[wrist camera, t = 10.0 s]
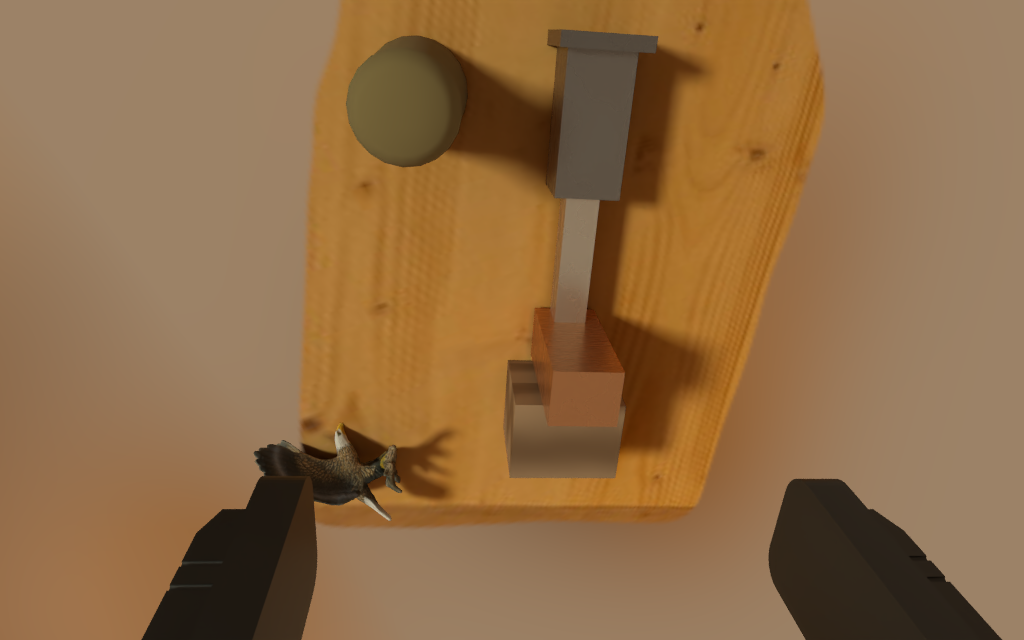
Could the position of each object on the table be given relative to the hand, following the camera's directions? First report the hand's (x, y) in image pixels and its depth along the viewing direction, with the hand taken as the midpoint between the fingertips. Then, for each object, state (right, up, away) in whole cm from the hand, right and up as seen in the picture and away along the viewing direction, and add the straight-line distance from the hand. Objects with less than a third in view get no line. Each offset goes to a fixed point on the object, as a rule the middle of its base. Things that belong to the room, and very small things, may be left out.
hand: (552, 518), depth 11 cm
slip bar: (+3, +5, +33) cm, 33 cm away
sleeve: (+4, +16, +29) cm, 33 cm away
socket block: (+2, -2, +36) cm, 36 cm away
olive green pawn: (-6, +17, +27) cm, 33 cm away
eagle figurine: (-13, -6, +37) cm, 40 cm away
